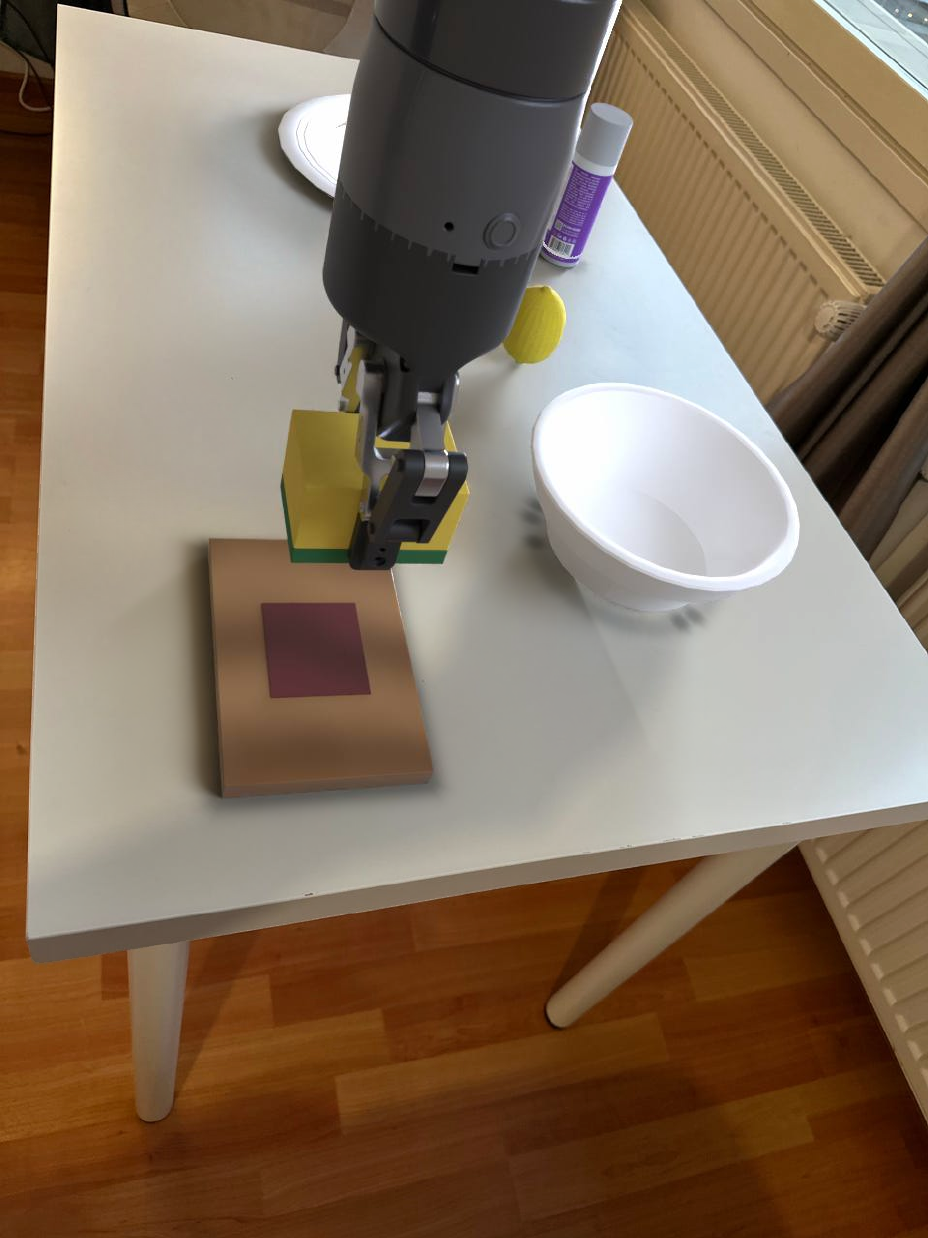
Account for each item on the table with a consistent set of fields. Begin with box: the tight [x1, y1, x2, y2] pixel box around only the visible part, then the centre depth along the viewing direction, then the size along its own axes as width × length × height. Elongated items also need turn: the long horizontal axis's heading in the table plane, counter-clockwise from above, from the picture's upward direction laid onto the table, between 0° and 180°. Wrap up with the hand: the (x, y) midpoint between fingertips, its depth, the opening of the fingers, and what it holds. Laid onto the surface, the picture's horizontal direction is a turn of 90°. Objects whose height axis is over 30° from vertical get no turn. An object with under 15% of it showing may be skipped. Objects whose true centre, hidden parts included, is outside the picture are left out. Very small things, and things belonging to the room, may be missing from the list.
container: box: [539, 102, 634, 268], centre depth 91 cm, size 5×5×15 cm
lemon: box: [502, 285, 567, 365], centre depth 79 cm, size 6×6×8 cm
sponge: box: [279, 408, 470, 565], centre depth 42 cm, size 8×5×5 cm, turn 103°
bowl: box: [530, 382, 801, 613], centre depth 67 cm, size 21×21×8 cm
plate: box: [277, 93, 351, 200], centre depth 97 cm, size 29×29×2 cm
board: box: [207, 537, 435, 799], centre depth 55 cm, size 18×12×2 cm, turn 12°
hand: (360, 520), depth 43 cm, fingers closed on sponge, 5 cm apart
